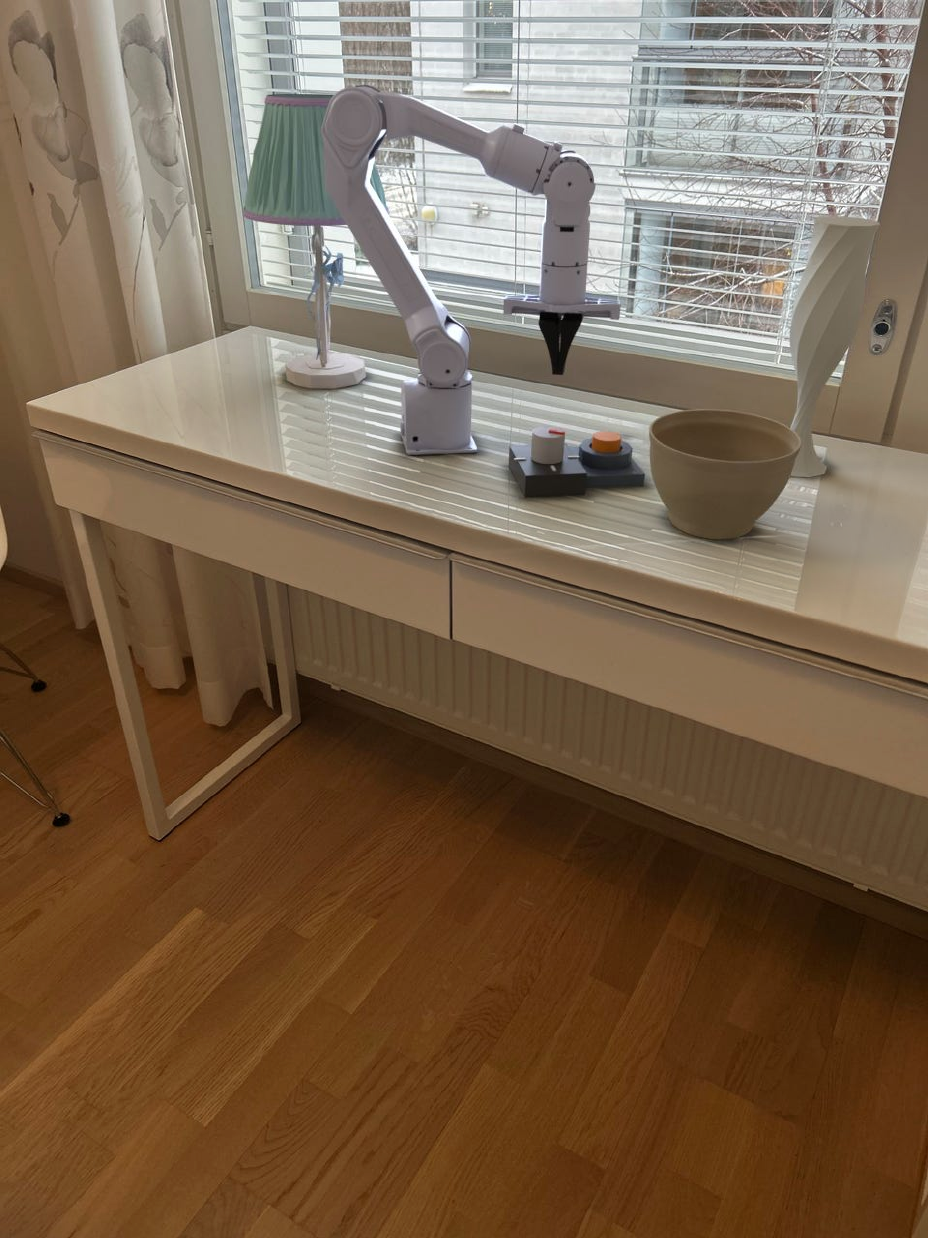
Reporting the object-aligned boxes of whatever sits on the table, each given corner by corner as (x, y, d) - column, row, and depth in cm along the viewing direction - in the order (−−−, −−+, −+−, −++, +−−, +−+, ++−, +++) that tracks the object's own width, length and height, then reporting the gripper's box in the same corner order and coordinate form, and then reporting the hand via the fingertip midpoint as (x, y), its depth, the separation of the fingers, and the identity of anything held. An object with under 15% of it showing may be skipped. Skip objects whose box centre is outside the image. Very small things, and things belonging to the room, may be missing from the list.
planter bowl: (634, 490, 115) (645, 405, 110) (768, 498, 114) (786, 412, 109) (642, 550, 102) (655, 455, 96) (794, 559, 101) (816, 464, 95)
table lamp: (387, 399, 143) (380, 101, 123) (245, 396, 143) (214, 97, 123) (397, 359, 162) (393, 94, 141) (272, 356, 162) (249, 90, 141)
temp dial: (526, 461, 115) (528, 432, 113) (536, 450, 118) (538, 422, 116) (558, 466, 114) (560, 437, 112) (566, 455, 117) (569, 426, 115)
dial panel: (587, 495, 114) (589, 471, 112) (521, 498, 113) (522, 474, 111) (567, 464, 122) (569, 441, 121) (505, 467, 121) (506, 444, 120)
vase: (791, 481, 119) (846, 228, 104) (746, 458, 125) (791, 217, 110) (841, 470, 123) (901, 224, 107) (794, 448, 129) (845, 213, 113)
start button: (623, 453, 117) (625, 440, 117) (595, 454, 117) (597, 441, 116) (615, 443, 121) (616, 430, 120) (588, 444, 120) (589, 431, 119)
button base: (643, 486, 117) (647, 460, 115) (585, 489, 116) (587, 462, 114) (620, 456, 125) (622, 431, 123) (565, 458, 124) (567, 433, 122)
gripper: (500, 266, 113) (498, 378, 120) (622, 271, 110) (612, 385, 117) (509, 255, 119) (506, 362, 126) (625, 259, 116) (615, 368, 123)
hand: (558, 372), depth 122 cm, fingers closed
